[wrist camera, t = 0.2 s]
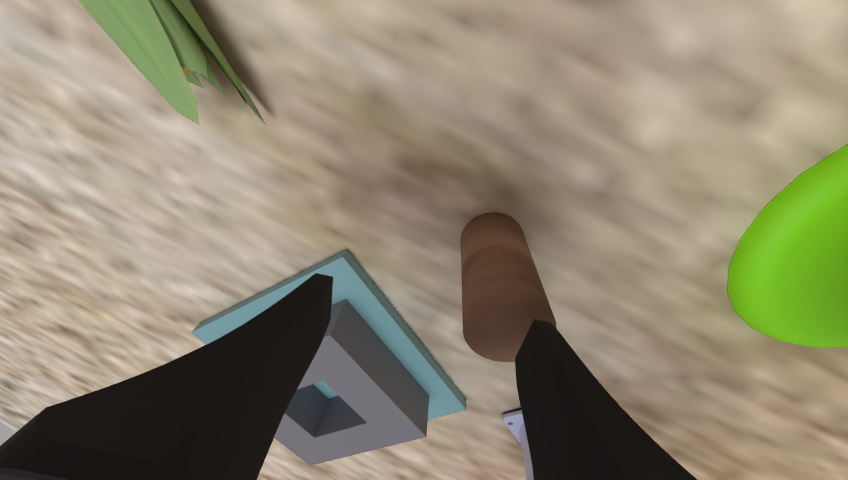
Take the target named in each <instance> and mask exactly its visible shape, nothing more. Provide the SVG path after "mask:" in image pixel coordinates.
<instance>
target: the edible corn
mask: <svg viewBox="0 0 848 480" xmlns="http://www.w3.org/2000/svg"><path fill="white" fill-rule="evenodd" d="M78 2H79V3H80V4H81V5H82V6H83V7H84V8H85V9H86V10H87V12H88V13H89V14H90V15H91V16H92V17H93V18H94V19H95V21H96V22H97V23H98V24H99V25H100V26H101V27H102V29H103V30H104V31H105V32H106V33H107V34H108V36H109V37H110V38H111V39H112V40H113V41H114V42H115V44H116V45H117V46H118V47H119V48H120V49H121V50H122V52H123V53H124V54H125V55H126V56H127V57H128V58H129V60H130V61H131V62H132V63H133V64H134V65H135V66H136V68H137V69H138V70H139V71H140V72H141V73H142V74H143V75H144V76H145V77H146V78H147V79H148V81H149V82H150V83H151V84H152V85H153V86H154V87H155V88H156V89H157V90H158V91H159V92H160V93H161V95H162V96H163V97H164V98H165V99H166V100H167V101H168V102H169V103H170V104H171V105H172V106H173V107H174V109H175V110H176V111H177V112H178V113H180V114H182V115H183V116H185V117H187V118H188V119H190V120H192V121H194V122H195V123H197V124H199V119H198V112H197V105H196V100H195V98H194V96H193V93H192V91H191V89H190V87H189V84H188V82H187V81H189V82H190V83H193V84H195V85H197V86H200V87H202V88H204V87H203V85H202V84H201V82H200V81H199V79H198V78H197V76H196V75H195V73H194V72H196V73H199V74H201V75H202V76H203V77H204V78H205V79H207V80H208V81H209V82H210V83H211V84H213V85H214V86H215V87H216V88H217V89H218V90H220V91H221V92H222V93H223V94H224V95H226V94H225V92H224V91H223V89H222V87H221V85H220V83H219V81H218V79H217V77H216V75H215V73H214V71H213V69H212V67H211V65H210V63H209V61H208V59H207V57H206V55H205V53H204V51H203V49H202V47H201V45H200V43H199V41H198V38H199V40H200V41H201V43H202V44H203V46H204V47H205V48H206V49H207V51H208V52H209V53H210V55H211V56H212V57H213V59H214V60H215V61H216V63H217V64H218V65H219V67H220V68H221V69H222V71H223V72H224V73H225V75H226V76H227V77H228V78H229V80H230V81H231V82H232V81H233V82H234V83H235V85H236V86H237V88H238V89H239V91H240V92H241V94H242V95H243V96H244V98H245V99H246V101H247V102H248V104H249V105H250V107H251V108H252V109H253V111H254V112H255V113H256V114H257V115H258V117H259V118H260V119H261V120H262V121H263V119H262V117H261V115H260V113H259V112H258V110H257V108H256V106H255V105H254V103H253V102H252V100H251V98H250V97H249V95H248V94H247V92H246V90H245V89H244V87H243V86H242V84H241V82H240V81H239V79H238V78H237V76H236V74H235V73H234V71H233V70H232V68H231V66H230V65H229V63H228V62H227V60H226V58H225V57H224V55H223V54H222V52H221V50H220V49H219V47H218V46H217V44H216V42H215V41H214V39H213V37H212V36H211V34H210V33H209V31H208V29H207V28H206V26H205V25H204V23H203V21H202V20H201V18H200V17H199V15H198V13H197V12H196V10H195V9H194V7H193V5H192V4H191V2H190V0H78ZM196 35H197V36H196ZM197 37H198V38H197ZM193 71H194V72H193ZM227 73H228V74H227ZM228 75H229V76H230V77H229V76H228ZM230 78H231V79H232V80H231V79H230ZM233 82H232V84H233ZM233 85H234V84H233ZM235 85H234V86H235ZM235 88H236V87H235ZM237 88H236V89H237ZM237 91H238V90H237ZM239 94H240V93H239ZM226 96H227V95H226ZM240 96H241V95H240ZM242 99H243V98H242ZM263 122H264V121H263ZM264 124H265V123H264Z"/></svg>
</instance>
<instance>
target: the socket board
mask: <svg viewBox="0 0 848 480" xmlns="http://www.w3.org/2000/svg"><path fill="white" fill-rule="evenodd" d="M316 273H318V274H323V275H328V276H332V277H333V289H332V305H331V320H330V322H329V325H328V328H327V330H326V333H325V335H324V338H323V340H322V343H321V345H320V347H319V349H318V351H317V353H316V355H315V357H314V359H313V360H312V362H311V364H310V366H309V368H308V370H307V372H306V374H305V375H304V377H303V379H302V381H301V383H300V385H299V387H298V388H297V390H296V392H295V394H294V396H293V398H292V400H291V401H290V403H289V405H288V407H287V409H286V411H285V413H284V415H283V417H282V420H281V422H280V424H279V427H278V429H277V432H276V434H275V436H274V438H275V439H277V440H278V441H279V442H280V443H282V444H283V445H284V446H286V447H287V448H288V449H289V450H291V451H292V452H293V453H295V454H296V455H297V456H298V457H300V458H301V459H302V460H304V461H305V462H306V463H308V464H309V465H314V464H318V463H322V462H326V461H331V460H335V459H339V458H343V457H347V456H351V455H355V454H359V453H363V452H367V451H371V450H375V449H379V448H383V447H387V446H391V445H395V444H399V443H403V442H407V441H411V440H416V439H420V438H424V437H426V433H427V421H428V420H429V419H433V418H437V417H441V416H444V415H448V414H452V413H456V412H459V411H463V410H466V399H465V398H464V396H463V395H462V394H461V393H460V391H459V390H458V389H457V388H456V386H455V385H454V384H453V382H452V381H451V380H450V379H449V377H448V376H447V375H446V374H445V372H444V371H443V370H442V369H441V367H440V366H439V365H438V363H437V362H436V361H435V360H434V358H433V357H432V356H431V355H430V353H429V352H428V351H427V350H426V348H425V347H424V346H423V344H422V343H421V342H420V341H419V339H418V338H417V337H416V336H415V334H414V333H413V332H412V331H411V329H410V328H409V327H408V326H407V324H406V323H405V322H404V320H403V319H402V318H401V317H400V315H399V314H398V313H397V312H396V310H395V309H394V308H393V307H392V305H391V304H390V303H389V301H388V300H387V299H386V298H385V296H384V295H383V294H382V293H381V291H380V290H379V289H378V288H377V286H376V285H375V284H374V282H373V281H372V280H371V279H370V277H369V276H368V275H367V274H366V272H365V271H364V270H363V269H362V267H361V266H360V265H359V263H358V262H357V261H356V260H355V258H354V257H353V256H352V255H351V253H350V252H349V251H348V250H347V249H346V250H344V251H342V252H340V253H338V254H336V255H334V256H332V257H330V258H328V259H326V260H324V261H322V262H320V263H318V264H316V265H314V266H312V267H310V268H308V269H306V270H304V271H302V272H301V273H299V274H297V275H295V276H293V277H291V278H289V279H287V280H285V281H283V282H281V283H279V284H277V285H275V286H273V287H271V288H269V289H267V290H265V291H263V292H261V293H259V294H257V295H255V296H253V297H251V298H249V299H247V300H245V301H243V302H241V303H239V304H237V305H235V306H233V307H231V308H229V309H227V310H225V311H223V312H221V313H219V314H217V315H215V316H214V317H212V318H210V319H208V320H206V321H204V322H202V323H200V324H199V325H198V326H197V327H196V328H195V329H194V330H193V331H192V332H191V333H192V334H194V335H195V336H196V337H197V338H198V339H200V340H201V341H202V342H203V343H204V344H206V345H207V344H209V343H211V342H213V341H214V340H216V339H218V338H220V337H222V336H224V335H225V334H227V333H229V332H231V331H232V330H234V329H236V328H238V327H239V326H241V325H243V324H244V323H246V322H247V321H249V320H250V319H252V318H254V317H255V316H257V315H258V314H260V313H261V312H263V311H264V310H266V309H267V308H269V307H270V306H272V305H273V304H275V303H276V302H277V301H279V300H280V299H282V298H283V297H284V296H286V295H287V294H289V293H290V292H291V291H293V290H294V289H295V288H297V287H298V286H299V285H301V284H302V283H303V282H304V281H306V280H307V279H308V278H310V277H311V276H312V275H314V274H316Z"/></svg>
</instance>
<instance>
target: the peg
mask: <svg viewBox="0 0 848 480" xmlns="http://www.w3.org/2000/svg"><path fill="white" fill-rule="evenodd" d="M461 264H462V307H463V335H464V338H465V341H466V342H467V344H468V345H469V347H470V348H471V349H472V350H473V351H474V352H476V353H477V354H479V355H481V356H482V357H485V358H487V359H490V360H494V361H500V362H515V357H516V355H517V353H518V351H519V349H520V347H521V345H522V343H523V341H524V339H525V337H526V335H527V333H528V330H529V328H530V326H531V324H532V322H533V320H534V319H537V320H542V321H547V322H551V323H552V324H553V325H554V326H555V328H556V322H555V318H554V316H553V313H552V310H551V308H550V305H549V302H548V299H547V297H546V294H545V291H544V289H543V286H542V283H541V281H540V278H539V275H538V272H537V270H536V267H535V264H534V262H533V259H532V256H531V254H530V251H529V248H528V245H527V243H526V240H525V237H524V235H523V232H522V229H521V227H520V226H519V224H518V223H517V222H516V221H515V220H514V219H513V218H511V217H509V216H507V215H505V214H501V213H486V214H483V215H480V216H478V217H476V218H474V219H473V220H471V221H470V222H469V223H468V224H467V225H466V227H465V228H464V230H463V232H462V236H461Z"/></svg>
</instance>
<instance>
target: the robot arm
mask: <svg viewBox="0 0 848 480" xmlns="http://www.w3.org/2000/svg"><path fill="white" fill-rule="evenodd" d="M332 289H333V277H332V276H328V275H323V274H318V273H316V274H314V275H312V276H311V277H310V278H308V279H307V280H306V281H304V282H303V283H302V284H301V285H299V286H298V287H297V288H295V289H294V290H293V291H291V292H290V293H289V294H287V295H286V296H284V297H283V298H282V299H280V300H279V301H277V302H276V303H275V304H273V305H272V306H270V307H269V308H267V309H266V310H264V311H263V312H261V313H260V314H258V315H257V316H255V317H254V318H252V319H250V320H249V321H247V322H246V323H244V324H243V325H241V326H239V327H238V328H236V329H234V330H232V331H231V332H229V333H227V334H225V335H224V336H222V337H220V338H218V339H216V340H214V341H213V342H211V343H209V344H207V345H205V346H203V347H201V348H199V349H197V350H194V351H192V352H190V353H188V354H186V355H184V356H182V357H180V358H177V359H175V360H173V361H171V362H169V363H167V364H164V365H162V366H160V367H157V368H155V369H152V370H150V371H147V372H145V373H143V374H140V375H138V376H135V377H132V378H130V379H127V380H125V381H122V382H119V383H117V384H114V385H111V386H109V387H106V388H103V389H100V390H97V391H94V392H91V393H88V394H85V395H83V396H80V397H77V398H74V399H71V400H68V401H65V402H62V403H59V404H56V405H53V406H50V407H46V408H45V409H44V410H43V411H41V412H40V413H39V414H38V415H36V416H35V417H34V418H33V419H32V420H30V421H29V422H28V423H27V424H26V425H24V426H23V427H22V428H21V429H20V430H19V431H17V432H16V433H15V434H14V435H13V436H12V437H10V438H9V439H8V440H7V441H6V442H5V443H3V444H2V445H1V446H0V480H257V477H258V475H259V472H260V470H261V467H262V465H263V463H264V460H265V458H266V455H267V453H268V450H269V448H270V446H271V443H272V441H273V439H274V436H275V434H276V432H277V429H278V427H279V424H280V422H281V420H282V417H283V415H284V413H285V411H286V409H287V407H288V405H289V403H290V401H291V400H292V398H293V396H294V394H295V392H296V390H297V388H298V387H299V385H300V383H301V381H302V379H303V377H304V375H305V374H306V372H307V370H308V368H309V366H310V364H311V362H312V360H313V359H314V357H315V355H316V353H317V351H318V349H319V347H320V345H321V343H322V340H323V338H324V335H325V333H326V330H327V328H328V325H329V322H330V320H331V305H332ZM515 365H516V380H517V389H518V395H519V400H520V405H521V410H519V411H515V412H511V413H507V414H504V415H503V416H502V420H503V422H504V423H505V425H506V426H507V427H508V429H509V430H510V431H511V433H512V434H513V435H514V437H515V438H516V439H517V441H518V442H519V444H520V445H521V447H522V453H523V459H524V465H525V471H526V477H527V480H697V479H696V478H695V477H694V476H692V475H691V474H690V473H689V472H688V471H687V470H685V469H684V468H683V467H682V466H681V465H680V464H679V463H678V462H677V461H675V460H674V459H673V458H672V457H671V456H670V455H669V454H668V453H667V452H666V451H664V450H663V449H662V448H661V447H660V446H659V445H658V444H657V443H656V442H655V441H654V440H653V439H652V438H651V437H650V436H649V435H648V434H647V433H646V432H645V431H644V430H643V429H642V428H641V427H640V426H639V425H638V424H637V423H636V422H635V421H634V420H633V419H632V418H631V417H630V416H629V415H628V414H627V413H626V412H625V411H624V410H623V409H622V408H621V407H620V406H619V404H618V403H617V402H616V401H615V400H614V399H613V398H612V397H611V395H610V394H609V393H608V392H607V391H606V390H605V389H604V388H603V386H602V385H601V384H600V383H599V382H598V380H597V379H596V378H595V377H594V376H593V374H592V373H591V372H590V371H589V370H588V368H587V367H586V366H585V365H584V363H583V362H582V361H581V360H580V358H579V357H578V356H577V354H576V353H575V352H574V351H573V349H572V348H571V347H570V346H569V344H568V343H567V342H566V340H565V339H564V338H563V336H562V335H561V334H560V333H559V331H558V330H557V329H556V328H555V326H554V325H553V324H552V323H551V322H547V321H542V320H537V319H534V320H533V322H532V324H531V326H530V328H529V330H528V333H527V335H526V337H525V339H524V341H523V343H522V345H521V347H520V349H519V351H518V353H517V355H516V357H515Z"/></svg>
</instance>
